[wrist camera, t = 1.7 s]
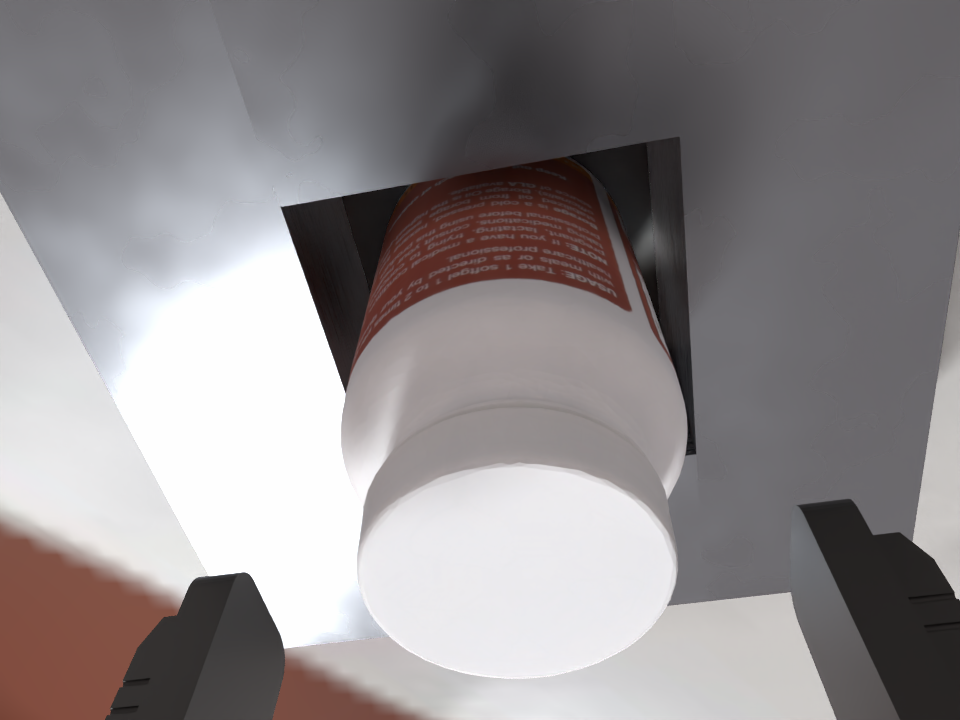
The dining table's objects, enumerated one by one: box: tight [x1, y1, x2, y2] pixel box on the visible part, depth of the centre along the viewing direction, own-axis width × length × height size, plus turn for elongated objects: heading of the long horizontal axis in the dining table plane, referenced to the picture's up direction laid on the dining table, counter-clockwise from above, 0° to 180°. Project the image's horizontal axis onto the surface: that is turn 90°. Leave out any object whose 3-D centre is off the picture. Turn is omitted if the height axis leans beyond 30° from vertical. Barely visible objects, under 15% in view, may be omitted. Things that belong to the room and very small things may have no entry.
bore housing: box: [0, 0, 960, 648], centre depth 19 cm, size 18×18×4 cm
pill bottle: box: [340, 156, 687, 679], centre depth 16 cm, size 6×6×11 cm
